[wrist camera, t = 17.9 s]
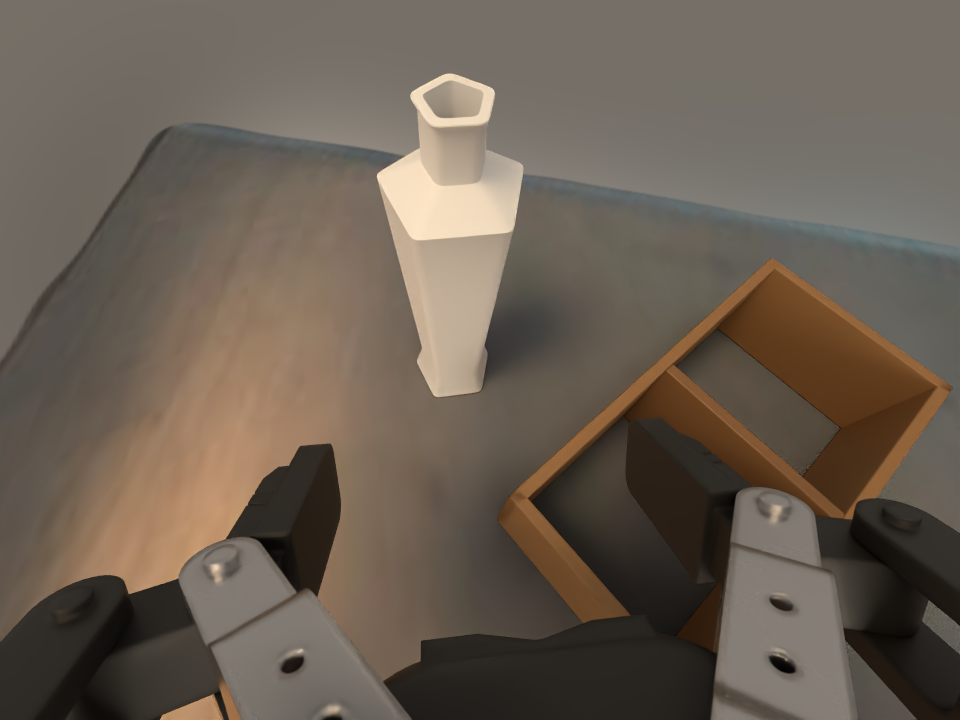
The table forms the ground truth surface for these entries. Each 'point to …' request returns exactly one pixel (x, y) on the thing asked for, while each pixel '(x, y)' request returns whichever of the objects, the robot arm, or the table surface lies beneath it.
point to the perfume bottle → (452, 229)
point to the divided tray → (689, 410)
